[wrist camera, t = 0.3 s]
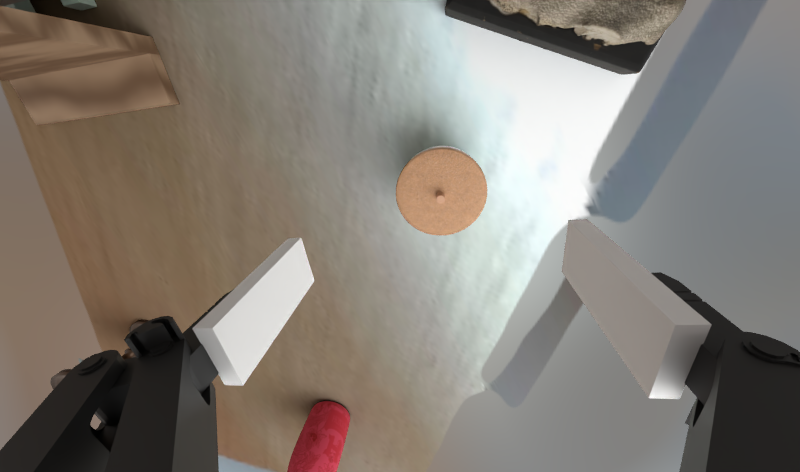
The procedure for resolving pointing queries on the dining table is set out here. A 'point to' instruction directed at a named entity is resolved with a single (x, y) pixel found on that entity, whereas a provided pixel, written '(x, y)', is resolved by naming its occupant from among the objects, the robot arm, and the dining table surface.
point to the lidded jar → (441, 190)
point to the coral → (578, 26)
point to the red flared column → (321, 439)
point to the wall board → (79, 68)
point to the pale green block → (71, 0)
